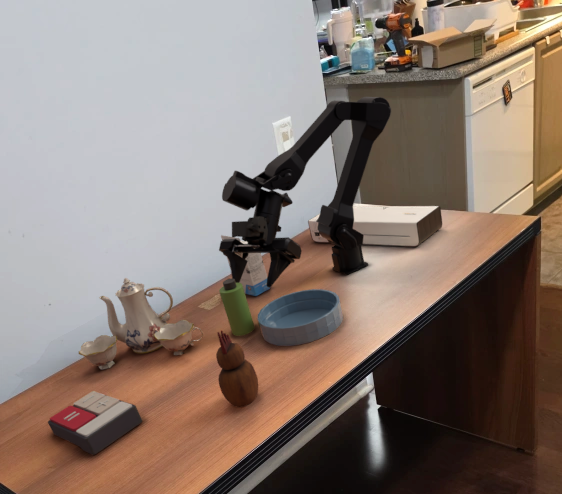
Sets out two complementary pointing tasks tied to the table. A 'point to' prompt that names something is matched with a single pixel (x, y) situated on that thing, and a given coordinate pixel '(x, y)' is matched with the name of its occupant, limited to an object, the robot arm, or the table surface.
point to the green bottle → (236, 307)
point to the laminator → (390, 224)
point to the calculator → (95, 421)
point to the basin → (300, 317)
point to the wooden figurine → (235, 373)
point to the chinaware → (138, 328)
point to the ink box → (252, 272)
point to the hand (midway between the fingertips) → (251, 286)
